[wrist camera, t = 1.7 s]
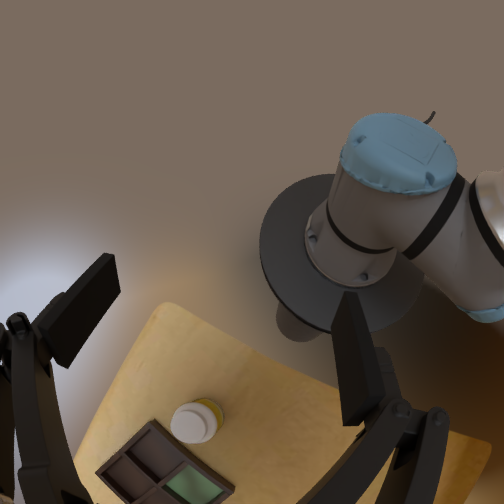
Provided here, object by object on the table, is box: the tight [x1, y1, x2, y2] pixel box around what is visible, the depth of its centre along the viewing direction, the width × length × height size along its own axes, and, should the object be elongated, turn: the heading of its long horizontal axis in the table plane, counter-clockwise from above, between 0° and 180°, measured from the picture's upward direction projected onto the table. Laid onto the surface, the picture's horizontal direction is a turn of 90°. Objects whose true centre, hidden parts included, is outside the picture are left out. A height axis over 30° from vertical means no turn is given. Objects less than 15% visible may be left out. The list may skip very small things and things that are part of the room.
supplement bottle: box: [170, 398, 224, 444], centre depth 29 cm, size 5×5×10 cm
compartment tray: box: [95, 419, 235, 504], centre depth 27 cm, size 16×16×2 cm
